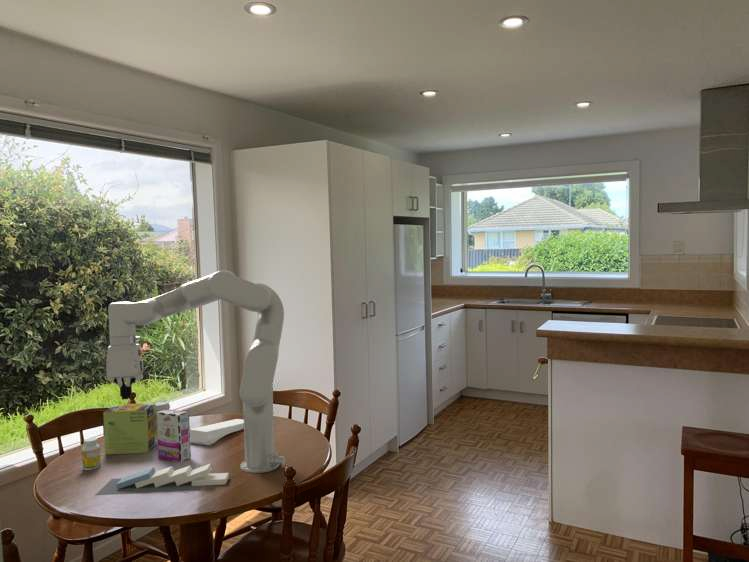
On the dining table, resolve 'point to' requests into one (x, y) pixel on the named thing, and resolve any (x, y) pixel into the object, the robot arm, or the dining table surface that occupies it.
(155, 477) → the domino
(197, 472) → the domino
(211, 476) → the domino
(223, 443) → the dining table surface
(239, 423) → the wall bracket
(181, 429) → the candy bar box
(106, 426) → the protein box
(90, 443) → the supplement bottle
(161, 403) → the coffee cup
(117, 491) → the mat
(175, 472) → the domino
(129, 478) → the domino placed
